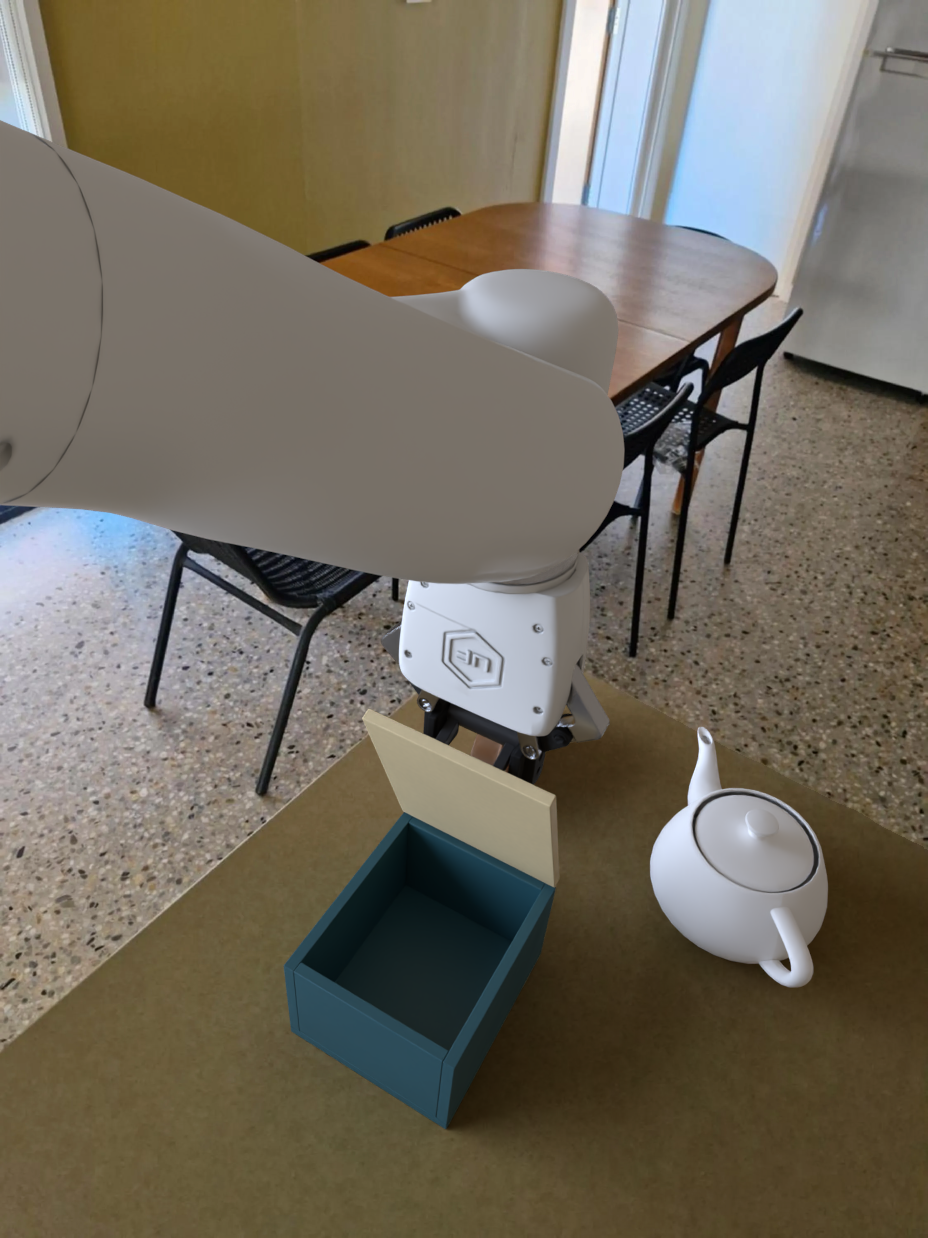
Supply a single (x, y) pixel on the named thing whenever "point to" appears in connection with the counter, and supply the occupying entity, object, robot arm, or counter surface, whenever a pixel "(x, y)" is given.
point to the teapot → (741, 874)
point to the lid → (470, 791)
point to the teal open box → (418, 965)
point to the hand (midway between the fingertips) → (480, 762)
